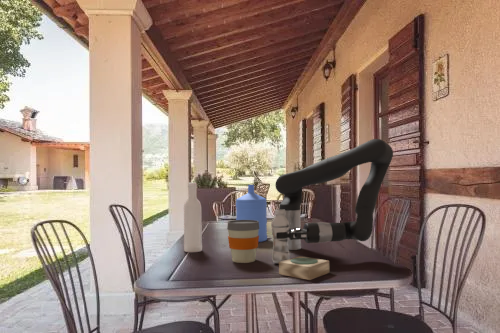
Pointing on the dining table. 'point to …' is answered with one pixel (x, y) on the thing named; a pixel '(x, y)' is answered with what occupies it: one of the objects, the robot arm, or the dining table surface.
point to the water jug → (253, 211)
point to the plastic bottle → (280, 245)
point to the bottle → (192, 221)
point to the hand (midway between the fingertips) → (274, 234)
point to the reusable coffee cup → (243, 240)
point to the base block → (304, 267)
